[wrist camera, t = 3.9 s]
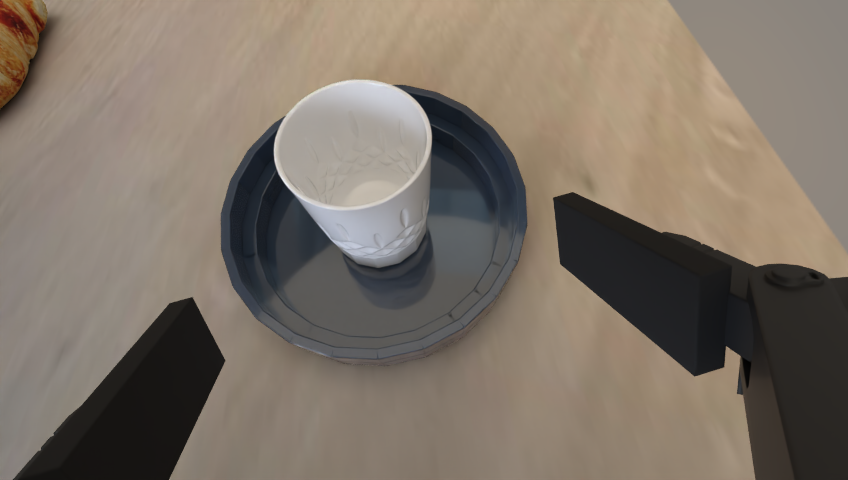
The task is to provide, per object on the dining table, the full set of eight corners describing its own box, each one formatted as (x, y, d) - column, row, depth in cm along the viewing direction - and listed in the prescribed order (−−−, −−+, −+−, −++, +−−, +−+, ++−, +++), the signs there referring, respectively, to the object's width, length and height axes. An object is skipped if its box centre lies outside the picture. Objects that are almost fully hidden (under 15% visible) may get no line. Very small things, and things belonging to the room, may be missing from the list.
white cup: (435, 275, 27) (432, 207, 18) (321, 277, 28) (261, 211, 18) (433, 176, 30) (430, 76, 21) (331, 179, 31) (284, 81, 21)
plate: (199, 221, 30) (165, 195, 26) (396, 83, 35) (390, 44, 31) (359, 436, 24) (344, 441, 20) (572, 233, 29) (592, 207, 25)
